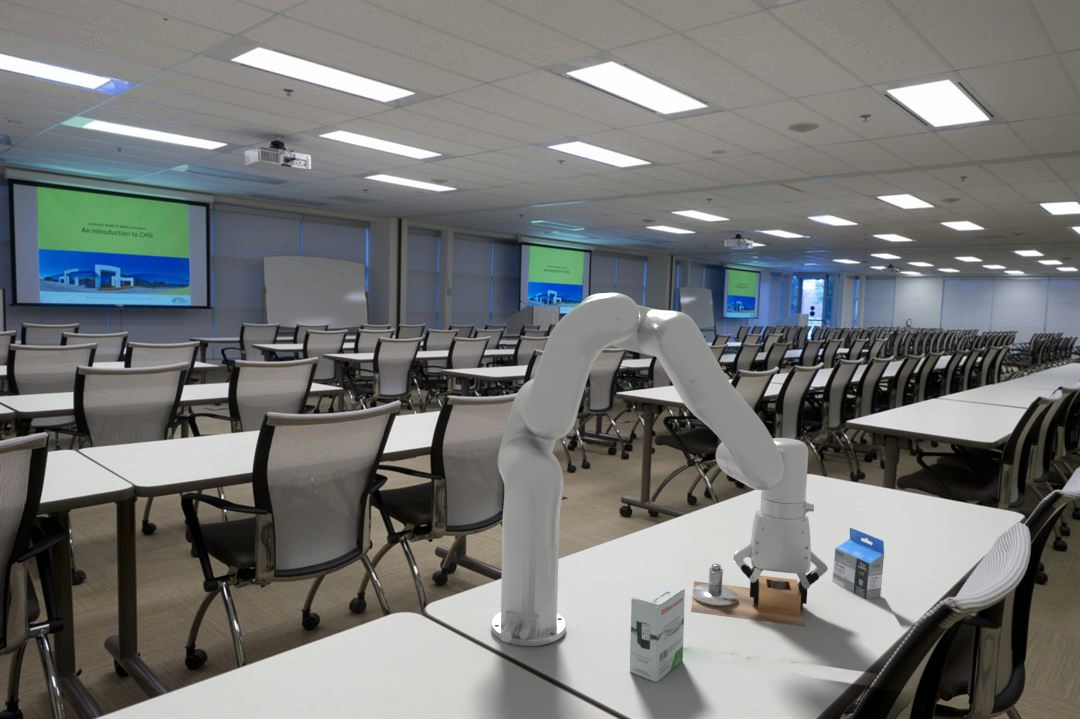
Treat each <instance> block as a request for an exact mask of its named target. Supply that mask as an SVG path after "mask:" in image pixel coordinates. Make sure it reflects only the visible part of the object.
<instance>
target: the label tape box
mask: <svg viewBox="0 0 1080 719" xmlns="http://www.w3.org/2000/svg"><path fill="white" fill-rule="evenodd" d="M862 539H863V540H865V539H867V540H868V541H869V542H870V543H872V544H870V543H869V542H866V541H863V540H862ZM884 562H885V544H884V540H882V539H880V538H878V537H875V536H872V535H870V534H868V533H865V532H863V531H860V530H858V529H855V528H852V527H849V539H848V540H846V541H845V542H843V543H842V544H840V545H838V546H837V547H835V548H834V559H833V570H832V583H834V584H836V585H837V586H839V587H841V588H843V589H845V590H847V591H849V592H851V593H852V594H854V595H857V596H859V597H861V598H863V599H865V600H869V599H870V600H871V599H876V598H881V597H882V596H881V595H882V594H881V593H882V582H883V572H884Z"/></svg>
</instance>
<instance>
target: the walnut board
mask: <svg viewBox="0 0 1080 719" xmlns="http://www.w3.org/2000/svg"><path fill="white" fill-rule="evenodd" d="M705 584H709V582H702V581H693V589H694V588H695V587H696V586H699V585H705ZM722 586H724V587H727V588H730V589H732V590H733V591H735V592H736V593H737V603H736V604H735V605H734V606H731V607H726V608H716V607H710V606H706V605H703V604H700V603H698V602H697V601H695V600H694V598H693V597H692V599H691V600H692V601H691V608H690V609H691V610H690V611H691V612H692V613H698V614H704V615H706V614H707V615H712V616H713V615H714V616H720V617H721V616H722V617H727V618H728V617H729V618H736V619H744V620H753V621H761V622H766V623H769V622H770V623H776V624H782V625H790V626H799V627H806V624H805V620H804V616H803V613H802V612H803V611H802V610H800V617H796V616H788V615H780V614H773V613H765V612H758V607H757V604H754V600H753V597H750V587H745V586H737V585H730V584H729V585H727V584H722ZM785 586H786V583H785V582H784V581H782V580H778V579H774V580H772V583H771V588H775V589H784V590H785ZM693 589H692V590H693Z"/></svg>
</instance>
